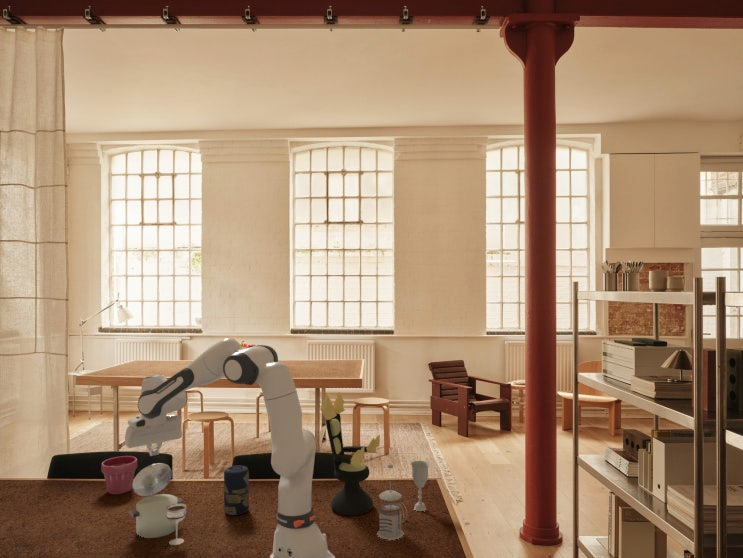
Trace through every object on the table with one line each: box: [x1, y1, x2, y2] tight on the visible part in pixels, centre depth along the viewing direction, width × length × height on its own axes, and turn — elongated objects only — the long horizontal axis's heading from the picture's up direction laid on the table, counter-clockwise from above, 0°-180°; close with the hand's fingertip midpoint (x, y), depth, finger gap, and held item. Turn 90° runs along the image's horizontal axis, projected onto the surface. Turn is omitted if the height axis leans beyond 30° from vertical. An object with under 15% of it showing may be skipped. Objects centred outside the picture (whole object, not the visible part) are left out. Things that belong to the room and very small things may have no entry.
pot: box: [129, 493, 184, 539], centre depth 205 cm, size 14×18×10 cm
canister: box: [223, 464, 250, 516], centre depth 220 cm, size 10×10×18 cm
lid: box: [132, 462, 173, 497], centre depth 209 cm, size 14×14×2 cm
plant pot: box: [101, 455, 138, 495], centre depth 242 cm, size 14×14×13 cm
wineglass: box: [166, 502, 188, 546], centre depth 196 cm, size 7×7×12 cm
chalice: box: [410, 460, 430, 512], centre depth 222 cm, size 7×7×18 cm
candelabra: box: [320, 392, 381, 516], centre depth 224 cm, size 19×22×45 cm
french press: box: [376, 463, 408, 541], centre depth 200 cm, size 10×12×25 cm
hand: (154, 454), depth 212 cm, fingers closed
